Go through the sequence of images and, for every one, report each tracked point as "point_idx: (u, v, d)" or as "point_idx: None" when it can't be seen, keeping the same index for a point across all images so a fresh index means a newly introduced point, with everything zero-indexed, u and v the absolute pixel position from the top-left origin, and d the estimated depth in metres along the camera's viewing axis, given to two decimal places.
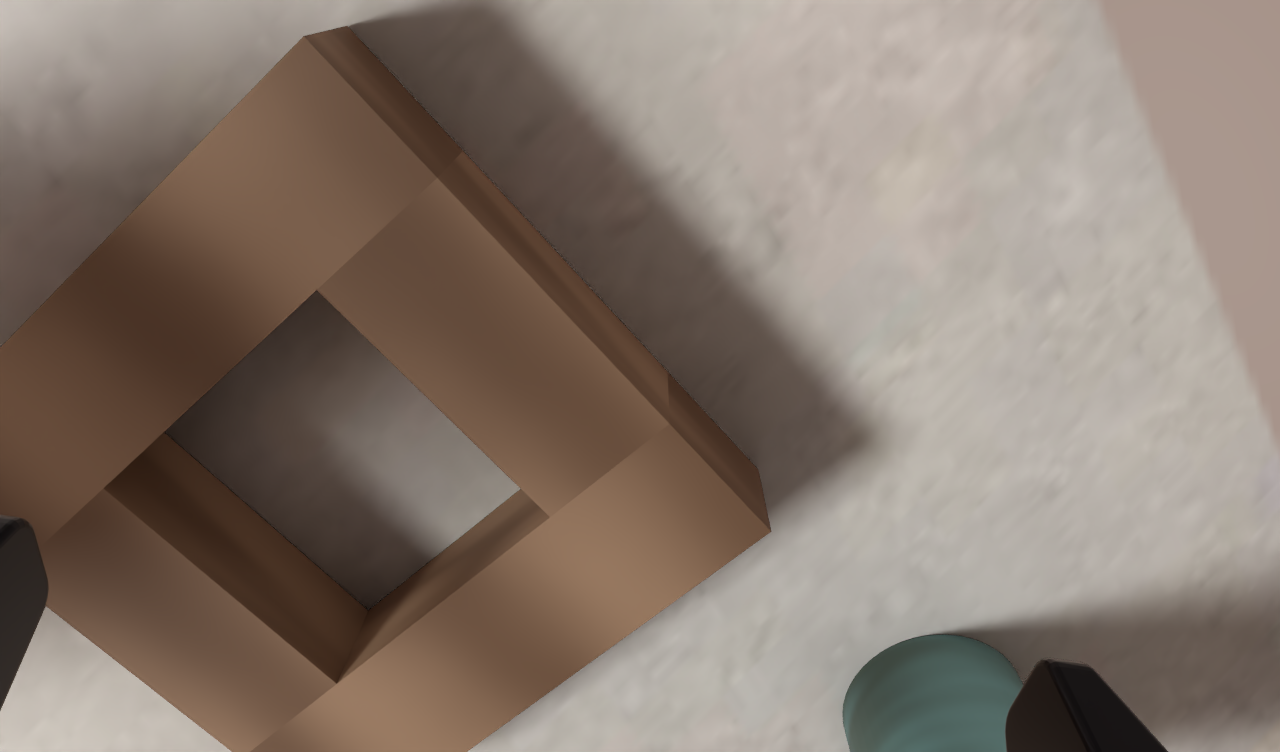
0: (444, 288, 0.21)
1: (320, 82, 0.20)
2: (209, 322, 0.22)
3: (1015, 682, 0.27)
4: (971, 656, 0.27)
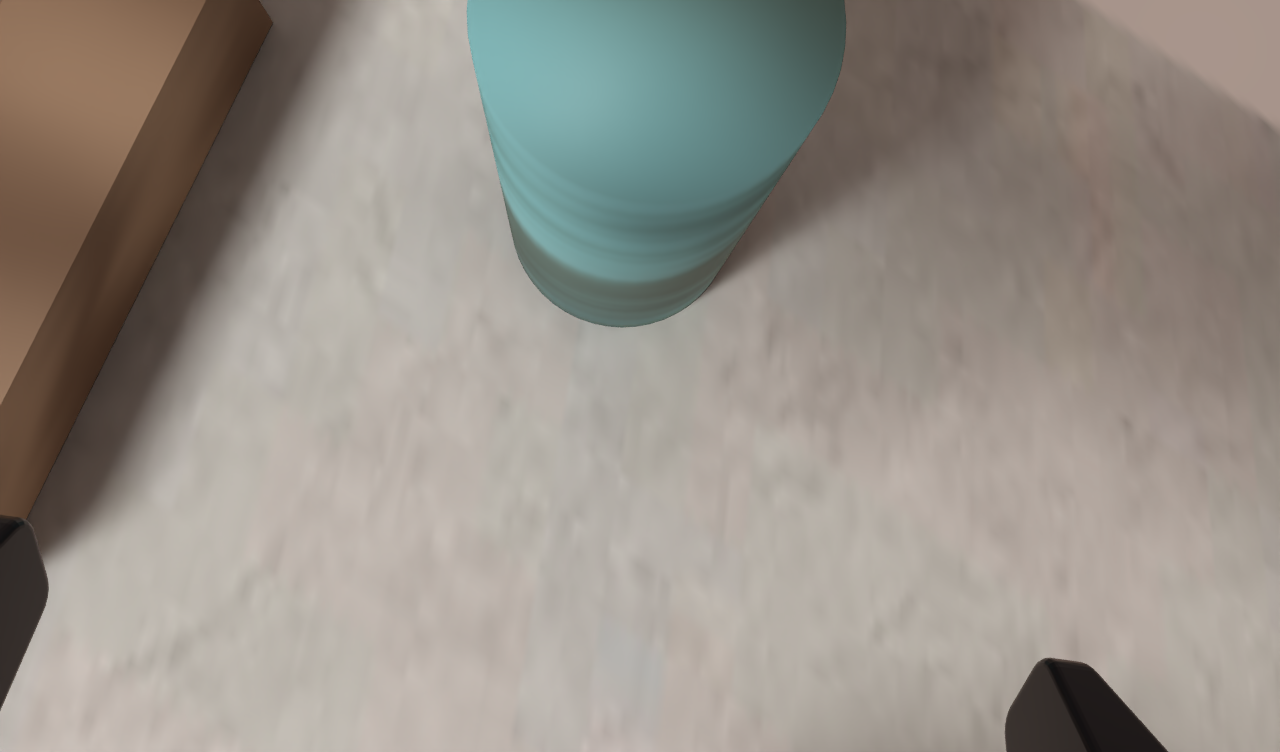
0: None
1: None
2: None
3: None
4: None
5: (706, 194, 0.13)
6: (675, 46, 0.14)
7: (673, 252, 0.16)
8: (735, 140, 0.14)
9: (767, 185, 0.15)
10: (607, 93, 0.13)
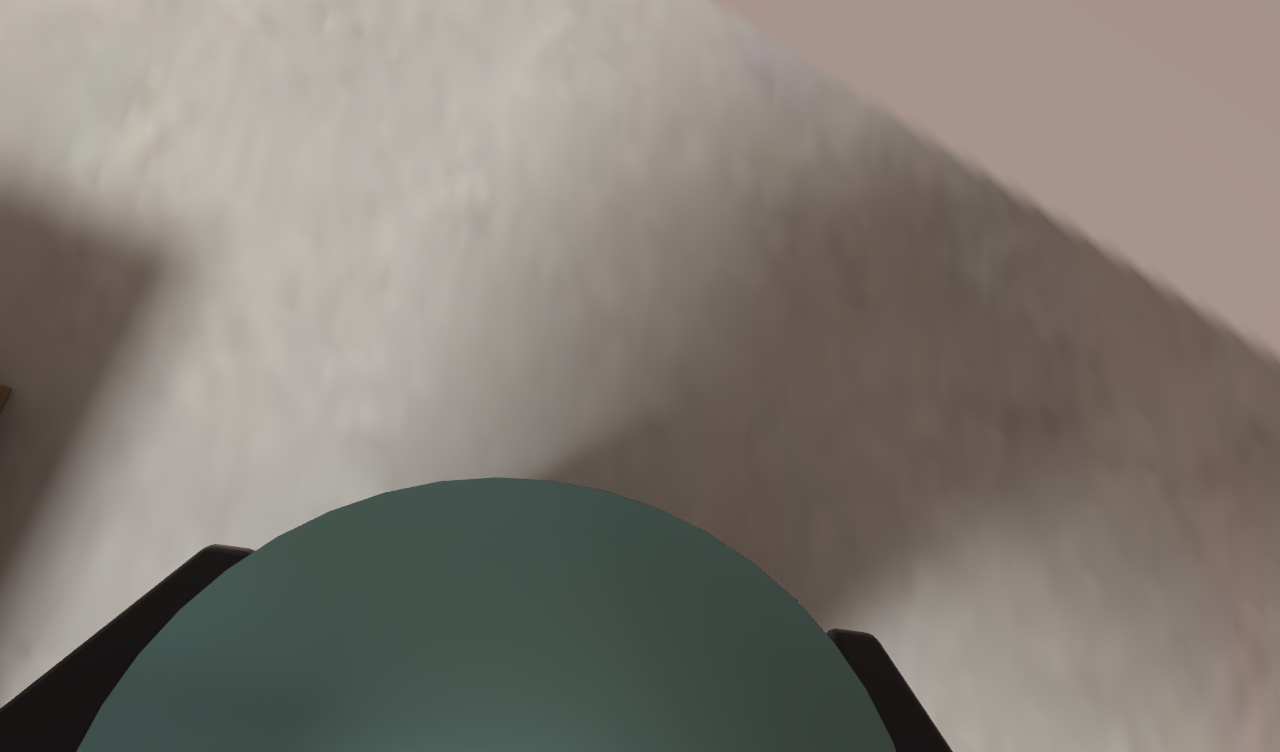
0: None
1: None
2: None
3: None
4: None
5: None
6: None
7: None
8: None
9: None
10: None
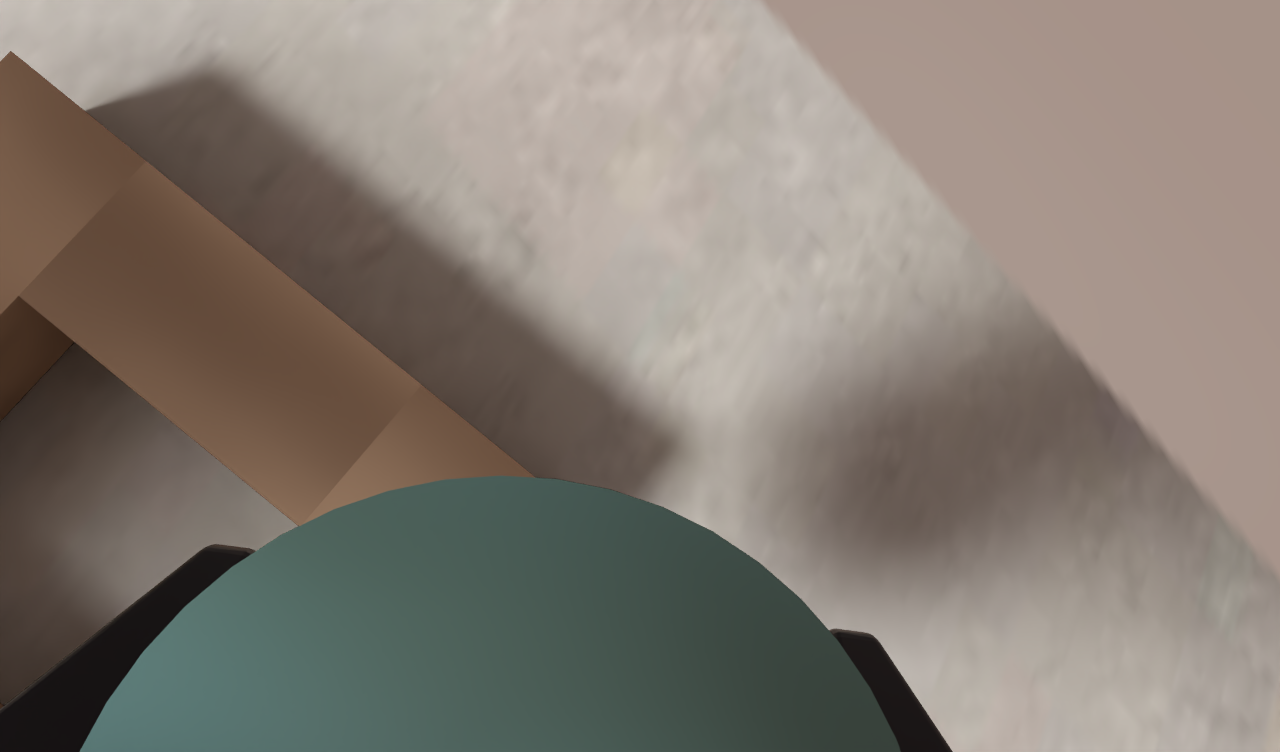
0: (158, 272, 0.20)
1: (27, 89, 0.20)
2: None
3: None
4: None
5: None
6: None
7: None
8: None
9: None
10: None
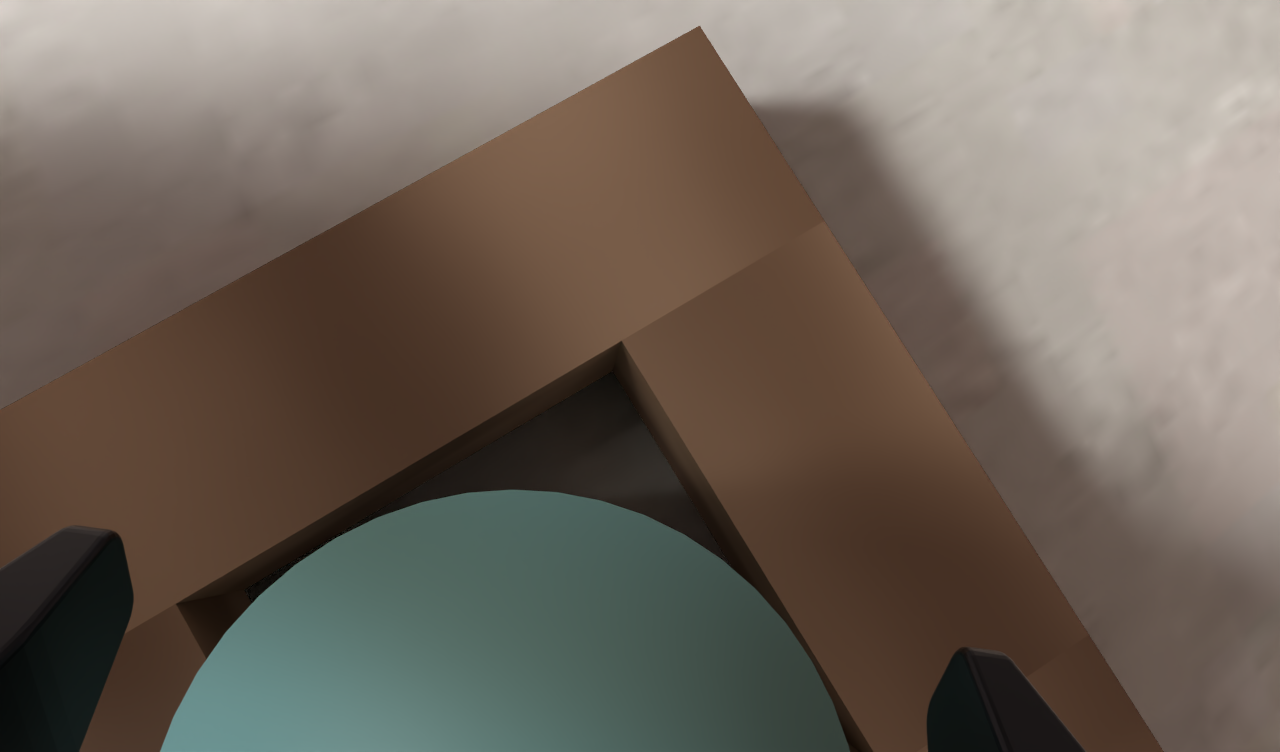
0: (800, 369, 0.15)
1: (705, 80, 0.15)
2: (451, 360, 0.15)
3: None
4: None
5: None
6: None
7: None
8: None
9: None
10: None
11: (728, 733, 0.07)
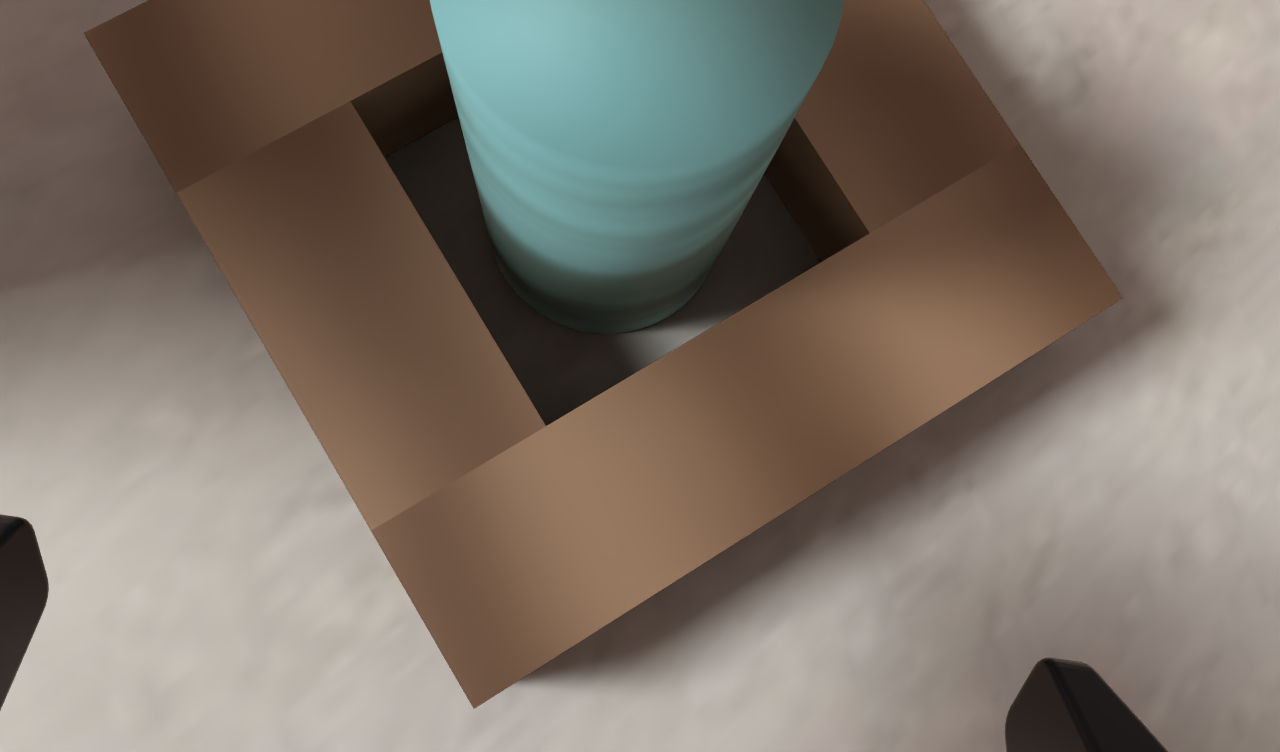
0: None
1: None
2: None
3: None
4: None
5: (695, 156, 0.12)
6: None
7: (659, 235, 0.15)
8: (725, 99, 0.12)
9: (761, 154, 0.13)
10: (582, 48, 0.12)
11: None
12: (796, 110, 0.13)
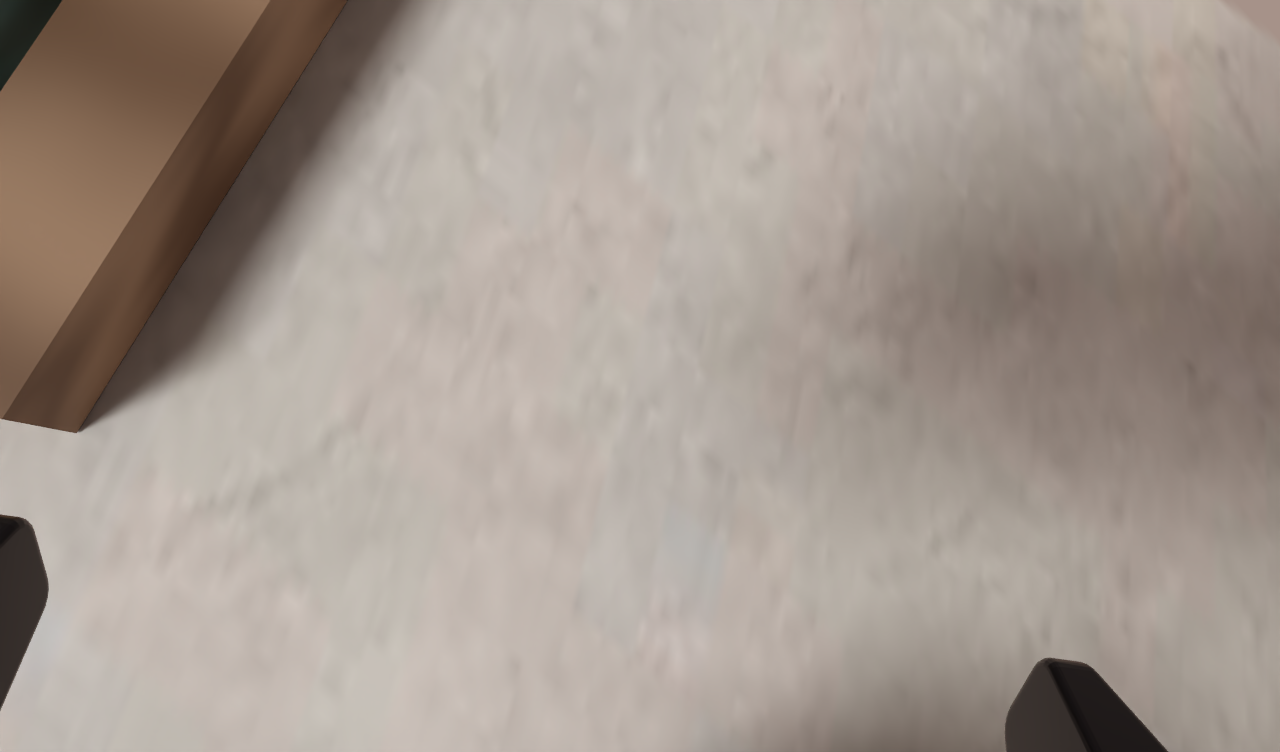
0: None
1: None
2: None
3: None
4: None
5: None
6: None
7: None
8: None
9: None
10: None
11: None
12: None
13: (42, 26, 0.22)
